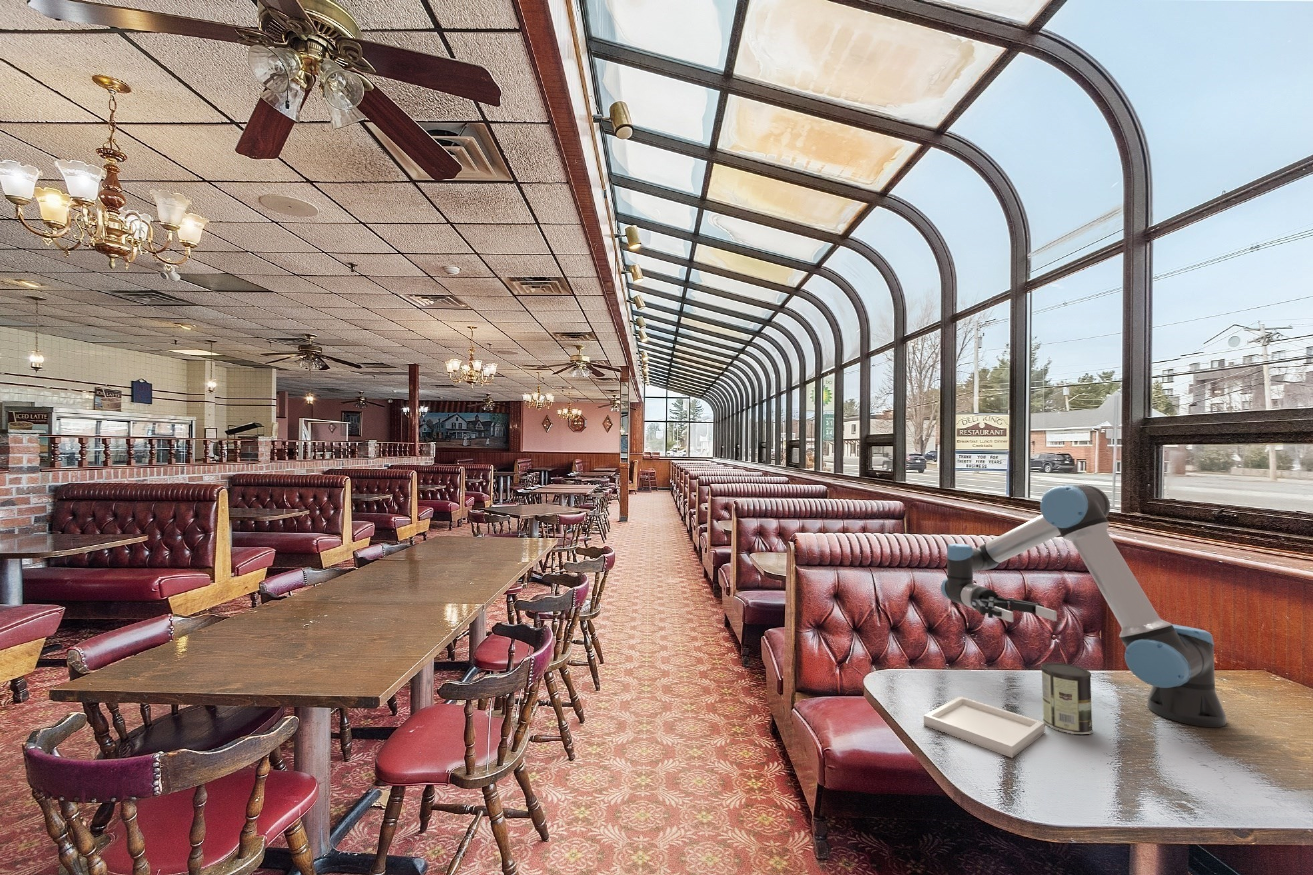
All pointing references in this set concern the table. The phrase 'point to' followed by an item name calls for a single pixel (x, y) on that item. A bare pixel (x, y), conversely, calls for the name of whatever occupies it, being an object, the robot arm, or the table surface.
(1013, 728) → the serving tray
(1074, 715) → the coffee can
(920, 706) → the table surface
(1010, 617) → the robot arm
